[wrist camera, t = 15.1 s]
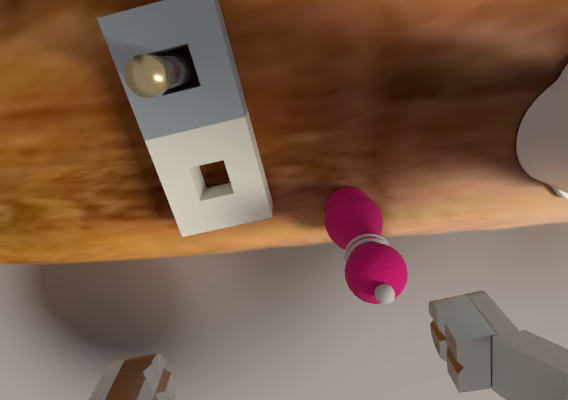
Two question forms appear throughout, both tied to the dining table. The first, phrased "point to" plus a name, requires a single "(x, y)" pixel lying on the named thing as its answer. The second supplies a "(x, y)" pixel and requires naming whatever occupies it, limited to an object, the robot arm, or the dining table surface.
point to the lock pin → (157, 73)
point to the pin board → (194, 114)
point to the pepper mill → (364, 247)
